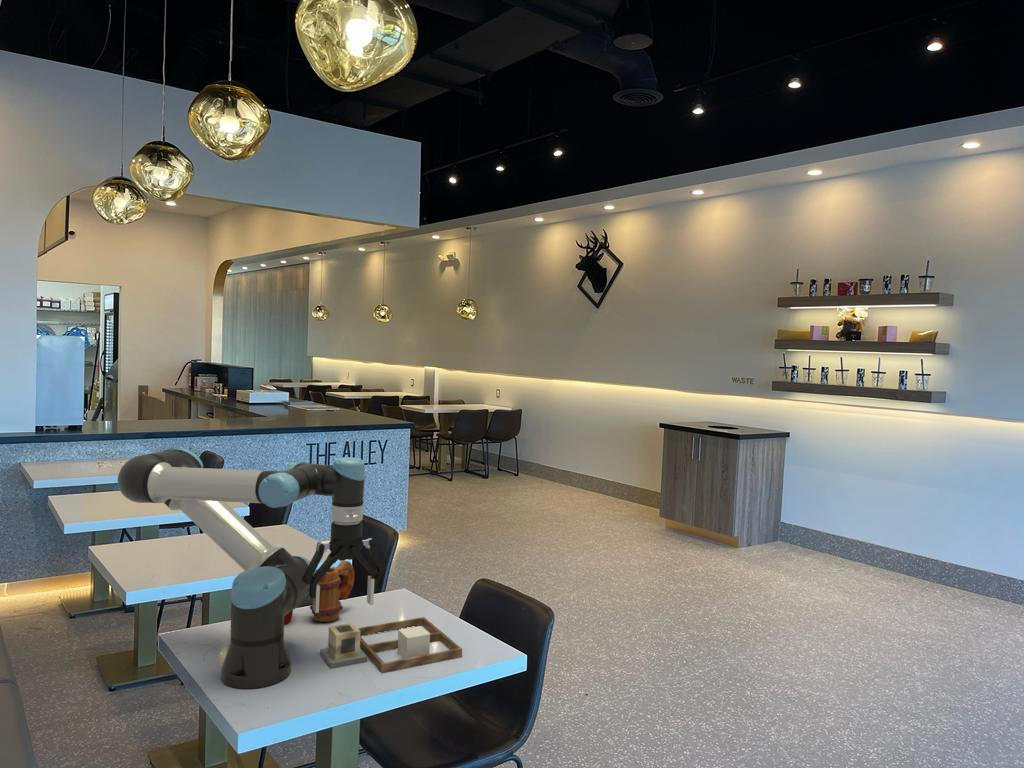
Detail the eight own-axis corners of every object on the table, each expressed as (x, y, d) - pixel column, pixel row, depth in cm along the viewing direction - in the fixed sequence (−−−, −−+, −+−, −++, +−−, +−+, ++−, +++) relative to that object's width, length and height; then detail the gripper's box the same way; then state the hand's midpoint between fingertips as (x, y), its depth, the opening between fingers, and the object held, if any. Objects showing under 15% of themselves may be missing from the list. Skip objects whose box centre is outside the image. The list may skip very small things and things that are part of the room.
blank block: (406, 662, 174) (407, 638, 174) (397, 653, 180) (398, 629, 179) (429, 657, 177) (429, 634, 177) (419, 648, 183) (420, 625, 182)
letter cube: (335, 660, 171) (336, 635, 171) (328, 650, 176) (328, 626, 176) (359, 655, 174) (360, 631, 174) (351, 646, 179) (352, 622, 179)
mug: (323, 627, 194) (324, 573, 193) (302, 620, 198) (304, 567, 198) (361, 612, 206) (363, 561, 206) (341, 606, 211) (343, 556, 210)
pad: (330, 668, 169) (330, 663, 169) (320, 654, 177) (320, 649, 177) (367, 661, 174) (367, 656, 174) (355, 647, 182) (355, 643, 181)
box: (381, 673, 168) (382, 664, 168) (350, 636, 188) (350, 629, 188) (461, 656, 178) (462, 648, 178) (423, 624, 199) (424, 617, 199)
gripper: (299, 529, 165) (295, 619, 165) (400, 521, 177) (397, 605, 178) (291, 521, 171) (288, 609, 172) (389, 514, 184) (386, 595, 184)
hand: (343, 607), depth 175 cm, fingers open, 13 cm apart
